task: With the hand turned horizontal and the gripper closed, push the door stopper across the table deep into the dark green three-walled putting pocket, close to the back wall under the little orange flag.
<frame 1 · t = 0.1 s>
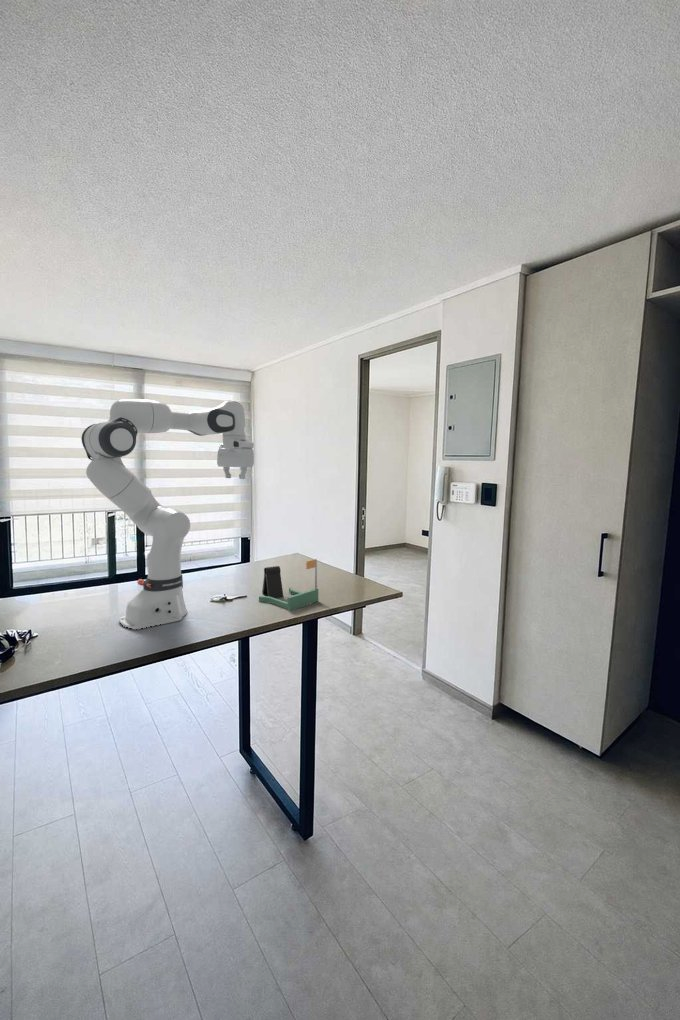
hand: (235, 478, 178), 48 cm above the table, tool pointing down, fingers open, 8 cm apart
door stopper: (272, 596, 183), on the table
putting pocket: (292, 602, 175), on the table
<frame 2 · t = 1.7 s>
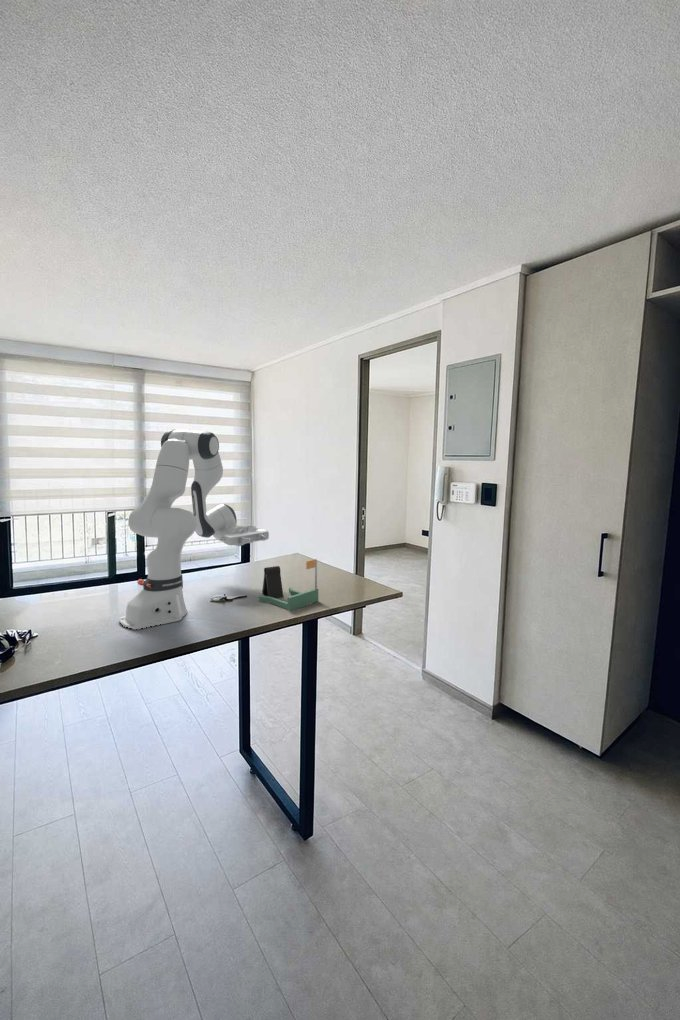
hand: (258, 539, 186), 22 cm above the table, tool horizontal, fingers open, 6 cm apart
nothing on the table moved.
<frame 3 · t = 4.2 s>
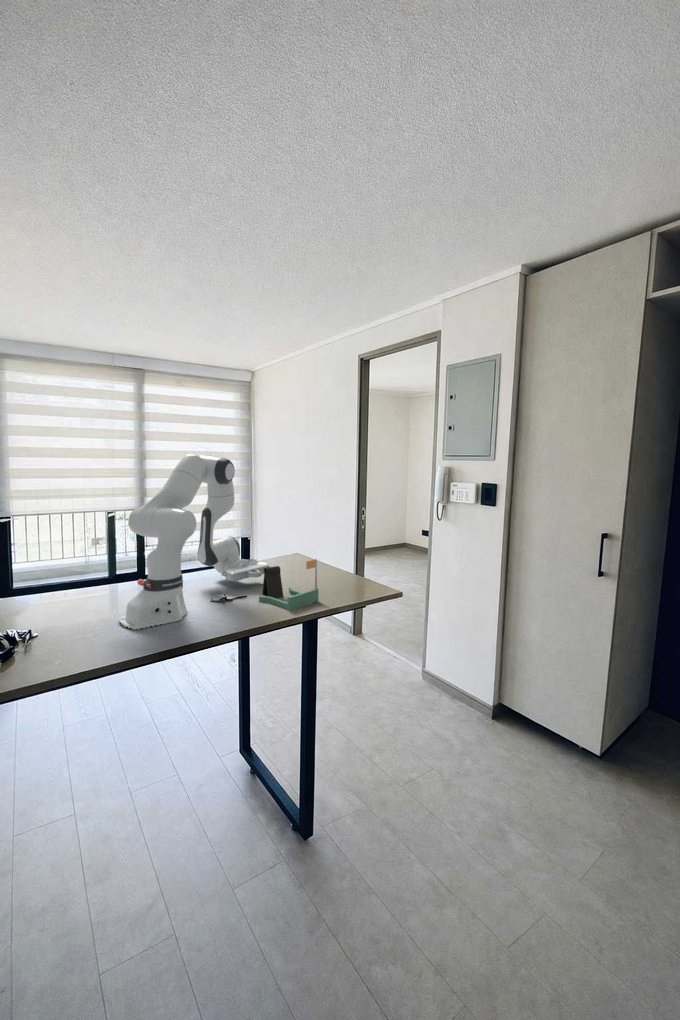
hand: (258, 575, 189), 7 cm above the table, tool horizontal, fingers closed
nothing on the table moved.
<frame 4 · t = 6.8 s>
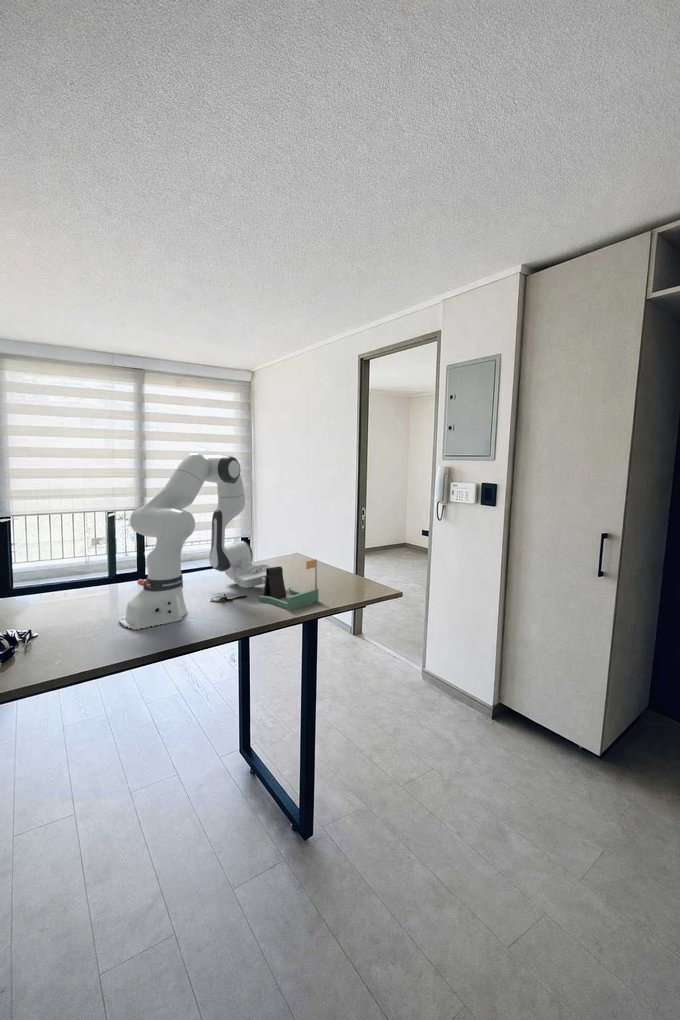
hand: (272, 581, 182), 6 cm above the table, tool horizontal, fingers closed
door stopper: (274, 596, 182), on the table, touching gripper
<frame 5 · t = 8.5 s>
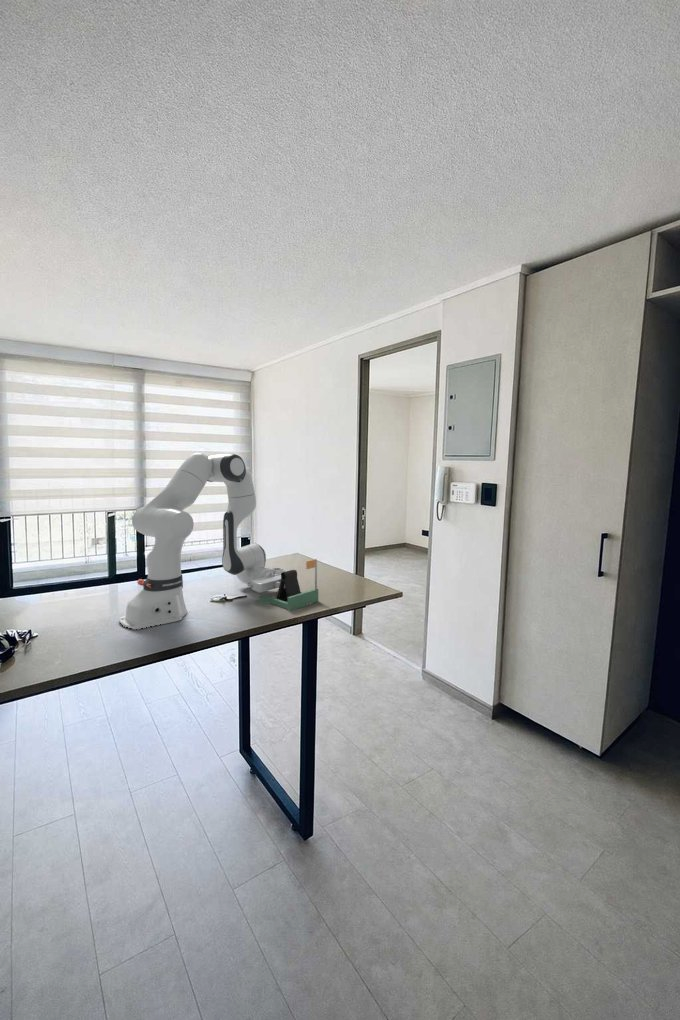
hand: (287, 585, 176), 6 cm above the table, tool horizontal, fingers closed, pressing on door stopper
door stopper: (289, 601, 177), on the table, touching gripper
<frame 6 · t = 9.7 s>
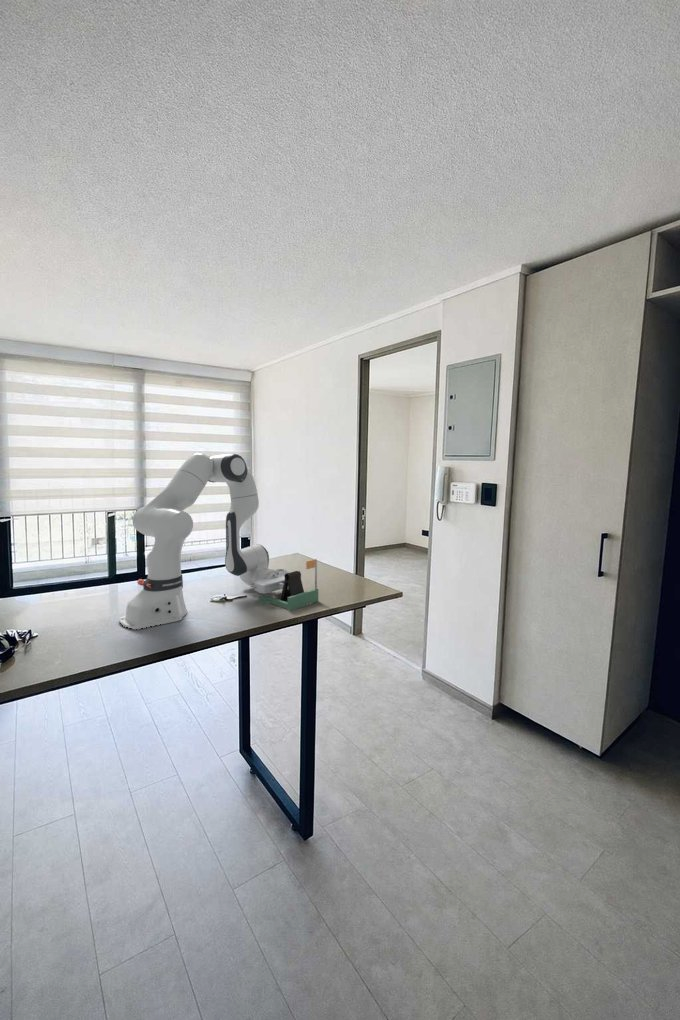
hand: (291, 586, 175), 6 cm above the table, tool horizontal, fingers closed
door stopper: (293, 602, 175), on the table
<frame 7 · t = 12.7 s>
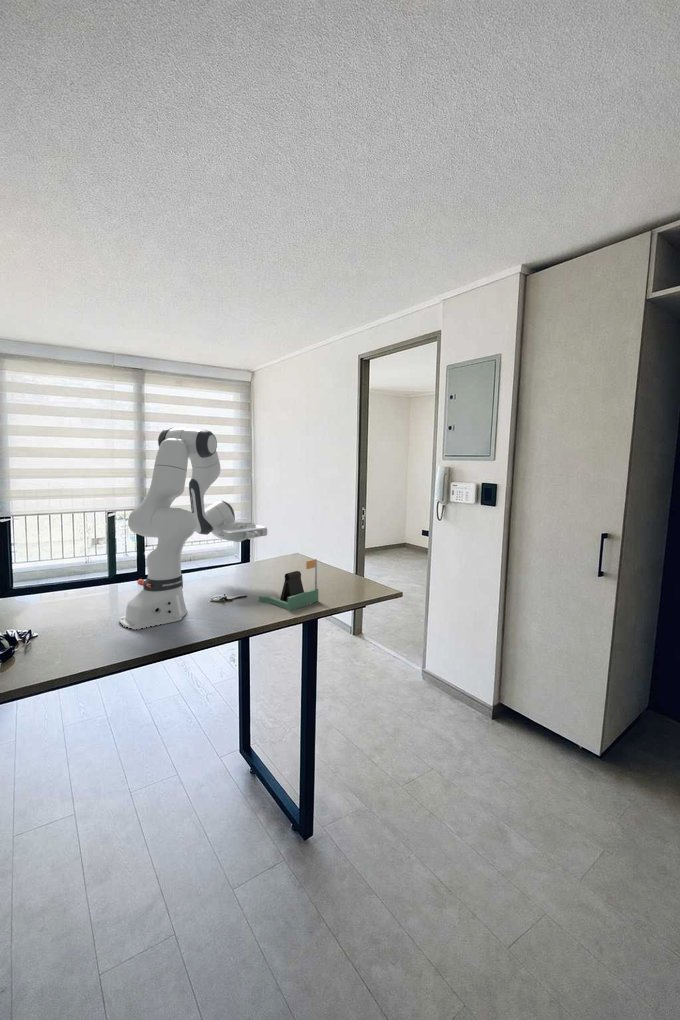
hand: (256, 535, 187), 24 cm above the table, tool horizontal, fingers closed
nothing on the table moved.
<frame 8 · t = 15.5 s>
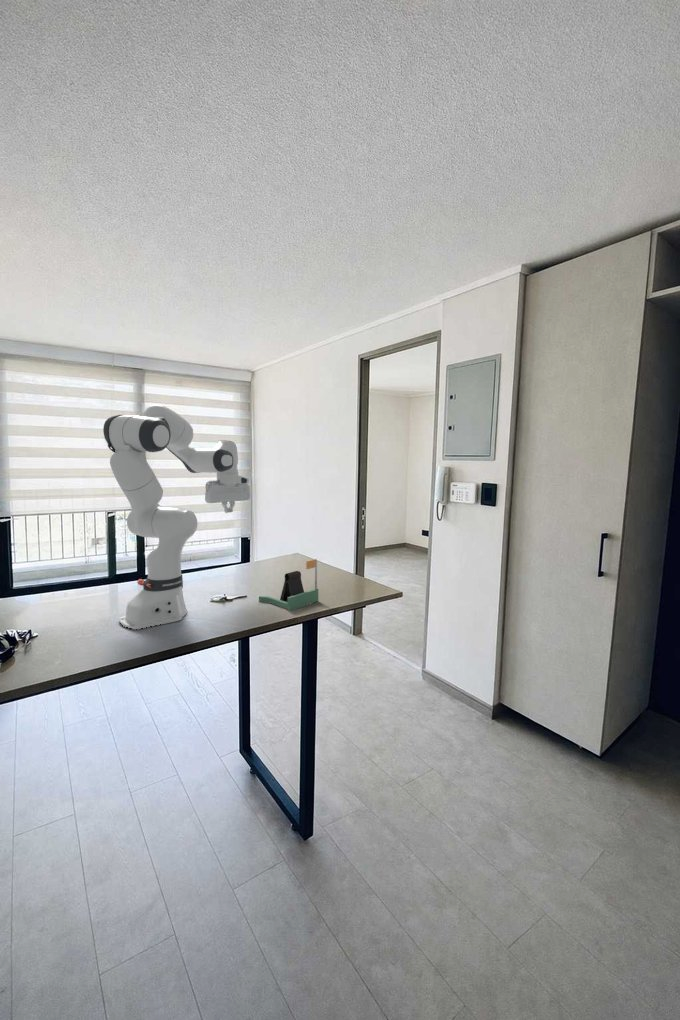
hand: (228, 512, 189), 33 cm above the table, tool pointing down, fingers closed
nothing on the table moved.
at the end: door stopper inside the target area on the putting pocket (1.4 cm from its centre), point 0.0 cm above the putting pocket's base; door stopper tilted 0°; door stopper moved 12.2 cm from its start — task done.
